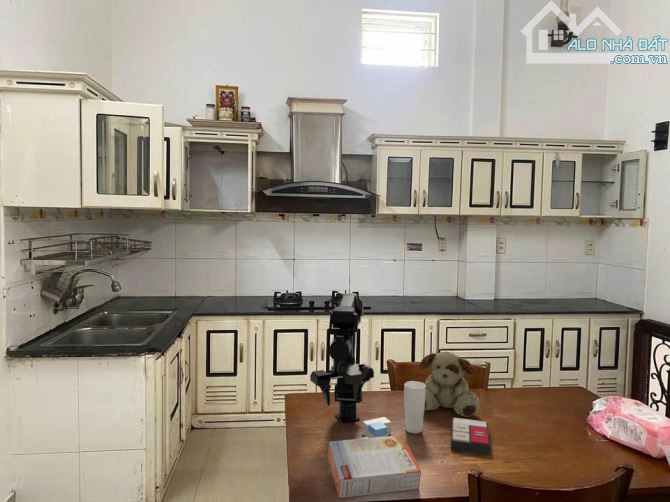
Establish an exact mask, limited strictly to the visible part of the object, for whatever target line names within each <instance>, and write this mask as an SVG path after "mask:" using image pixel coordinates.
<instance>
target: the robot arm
mask: <svg viewBox="0 0 670 502" xmlns="http://www.w3.org/2000/svg"><path fill="white" fill-rule="evenodd" d="M362 317H364V302H363V301H362V300H361V299H360V298H358V294H356V293H344V292H343V294H342V295H341V298H340V299H339V300H338V306H336V307H334V308H333V309H332V312H330V315H329V325H328V335H331V336H332V335H333V339H332V341H331V343H330V345H329V348H328V354H329V356H330V358H331V359H332V361H333V362H332V365H331V367H330V368H331V371H332V372H327V371H325V370H324V369H321V370H320V369H319V370H313V371H312V372H311V373H310V375H309V376H310V377H309V378H310V379H309V381H310V382H312V383H313V384H314V385H315V386H317V387H318V388H319V389H320V392H321V393H322V395H323V398H324V401H325V403H326V406H328V407H329V406H330V403H331V390H330V389H331V388H332V385H331V384H330V383H331V381H333V380H336V383H334V390H333V391H334V402H335V403H336V402H339V403H338V413H335V414H334V416H335V417H336V418H337V419H338V420H339V421H340V422H341V423H343V424H345V423H351V422H356V421H360V420H361V417H360V416H358V415H357V404H360V403H361V402H363V390H362V389H363V387H364V386H365V384H366V383H368V382H369V381H371V379H373V378H375V370H374V369H373V367H371V366H370V365H367V363H356V342H357V341H356V340H357V338H356V336H357V333H358V329H359V325H360V324H361V322H362Z"/></svg>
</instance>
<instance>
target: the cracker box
mask: <svg viewBox="0 0 670 502" xmlns="http://www.w3.org/2000/svg"><path fill="white" fill-rule="evenodd" d="M363 438H364V437H363ZM327 459H328V463H329V468H330V471H331V475H332V477H333V482H334V486H335V489H336V494H337V497H338V499H345V498H353V497H362V496H370V495H380V494H388V493H397V492H403V491H404V492H405V491H407V492H408V491H414V490H419V489H420V482H421V476H422V475H421V474H422V470H421V468H420V466H419V465H418V462H417V460H416V458H415V457H414V454H413V453H412V451H411V449H410V447H409V444H408V443H407V442H406V439H405V438H404V436H403V434H402V435H401V434H400V435H390V436H389V435H388V437H376V438H364V439H360V438H355V439H343V440H332V441H331V440H330V441H328V452H327Z"/></svg>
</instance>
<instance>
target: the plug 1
mask: <svg viewBox="0 0 670 502" xmlns="http://www.w3.org/2000/svg"><path fill="white" fill-rule="evenodd" d="M376 422H381V423H383V424H384V425H385V426H387V427H388V436H389V435H390V436H391V435H392V421H391V420H389V418H387V417H385V416H383V417H379V418H372V419H369V420H363V421H362V435H363V436H364V437H368V424H372V423H376Z"/></svg>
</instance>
